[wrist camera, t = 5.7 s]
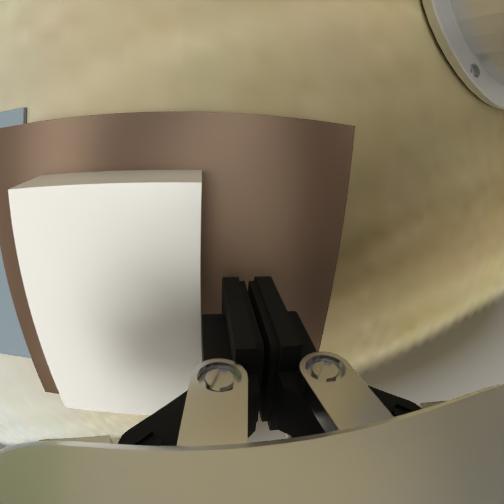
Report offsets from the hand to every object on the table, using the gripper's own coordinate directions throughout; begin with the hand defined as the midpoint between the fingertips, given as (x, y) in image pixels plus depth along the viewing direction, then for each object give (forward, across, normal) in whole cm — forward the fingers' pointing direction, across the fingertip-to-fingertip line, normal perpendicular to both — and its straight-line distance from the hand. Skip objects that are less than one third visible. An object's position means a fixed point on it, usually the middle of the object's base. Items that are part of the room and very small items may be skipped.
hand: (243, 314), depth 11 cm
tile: (+2, +4, 0) cm, 5 cm away
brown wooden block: (+6, +3, 0) cm, 6 cm away
